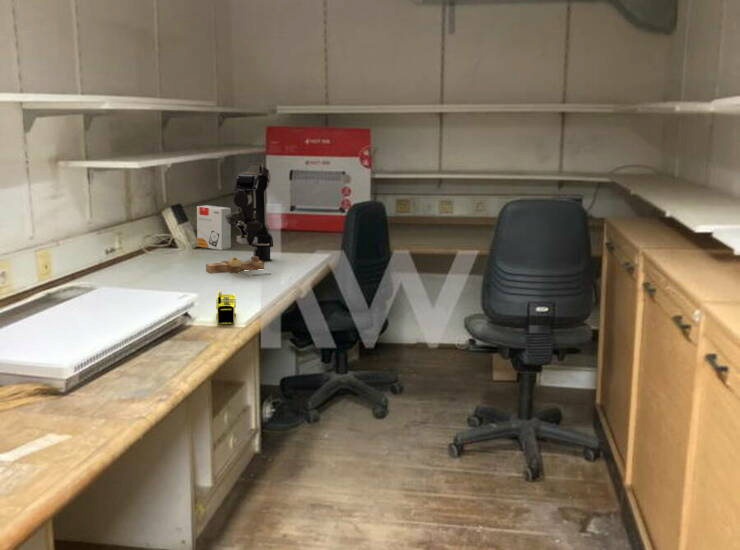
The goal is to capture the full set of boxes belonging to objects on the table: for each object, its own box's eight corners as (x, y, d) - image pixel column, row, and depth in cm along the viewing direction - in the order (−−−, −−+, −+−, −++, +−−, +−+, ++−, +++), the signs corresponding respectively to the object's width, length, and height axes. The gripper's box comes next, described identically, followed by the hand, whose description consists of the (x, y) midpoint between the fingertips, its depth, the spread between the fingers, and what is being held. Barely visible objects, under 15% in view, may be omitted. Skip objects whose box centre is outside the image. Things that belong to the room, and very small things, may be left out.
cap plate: (252, 240, 284) (252, 233, 284) (257, 242, 279) (257, 236, 278) (236, 241, 281) (236, 234, 281) (241, 243, 276) (241, 236, 275)
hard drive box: (196, 246, 342) (195, 206, 338) (206, 245, 348) (206, 205, 344) (221, 250, 335) (221, 208, 331) (231, 248, 341) (231, 207, 337)
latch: (237, 264, 285) (237, 256, 284) (241, 266, 281) (241, 258, 280) (228, 264, 283) (228, 256, 282) (232, 266, 279) (232, 258, 278)
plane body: (256, 265, 299) (256, 254, 298) (267, 270, 288) (267, 259, 287) (203, 269, 287) (203, 257, 286) (212, 274, 277) (212, 262, 276)
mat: (264, 270, 288) (264, 269, 288) (271, 274, 281) (271, 273, 281) (241, 272, 283) (241, 271, 283) (247, 276, 277) (247, 274, 276)
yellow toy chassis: (217, 313, 221) (217, 287, 219) (235, 312, 222) (235, 287, 220) (215, 326, 205) (215, 299, 203) (235, 326, 206) (235, 298, 205)
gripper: (220, 203, 282) (221, 241, 285) (234, 208, 265) (234, 248, 269) (247, 202, 287) (247, 240, 290) (262, 207, 271) (262, 247, 274)
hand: (247, 244), depth 280 cm, fingers closed on cap plate, 6 cm apart
